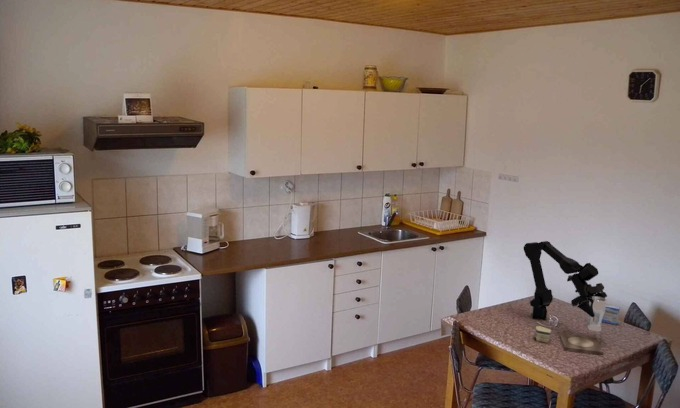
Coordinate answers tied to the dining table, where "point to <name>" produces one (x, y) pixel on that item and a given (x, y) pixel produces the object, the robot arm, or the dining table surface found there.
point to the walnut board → (581, 344)
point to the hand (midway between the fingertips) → (598, 315)
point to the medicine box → (611, 314)
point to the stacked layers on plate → (542, 334)
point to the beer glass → (596, 313)
